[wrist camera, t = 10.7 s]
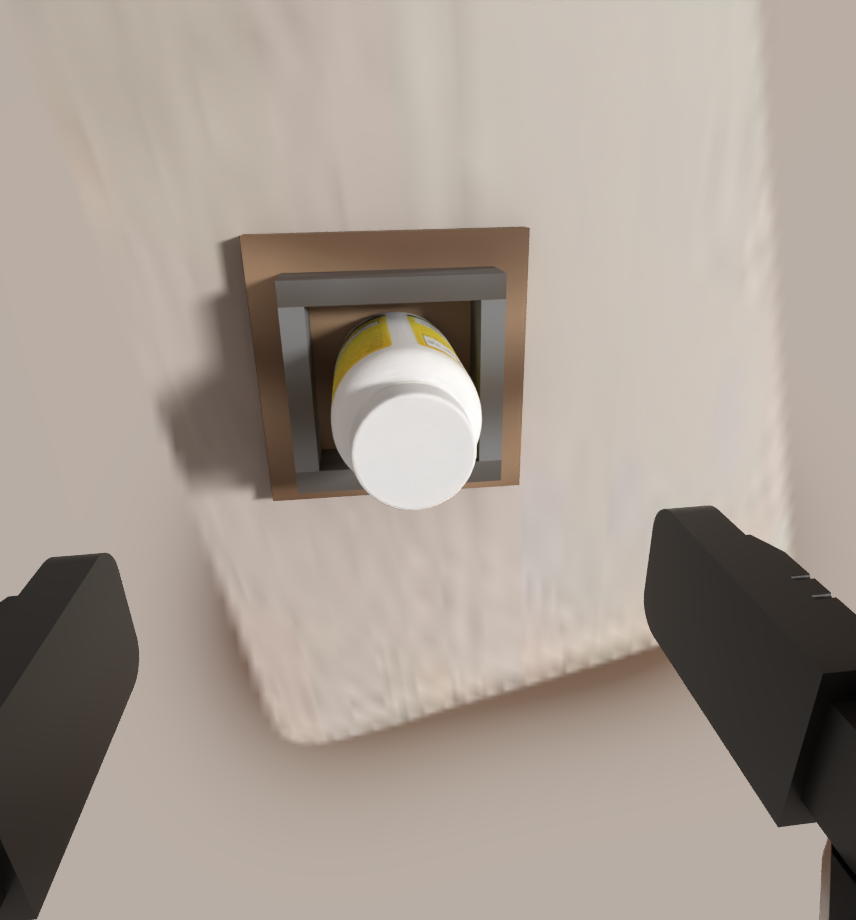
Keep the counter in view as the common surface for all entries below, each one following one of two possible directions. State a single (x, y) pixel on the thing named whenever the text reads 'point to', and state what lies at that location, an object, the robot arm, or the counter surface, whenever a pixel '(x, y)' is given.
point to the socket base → (365, 295)
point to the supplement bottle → (404, 411)
